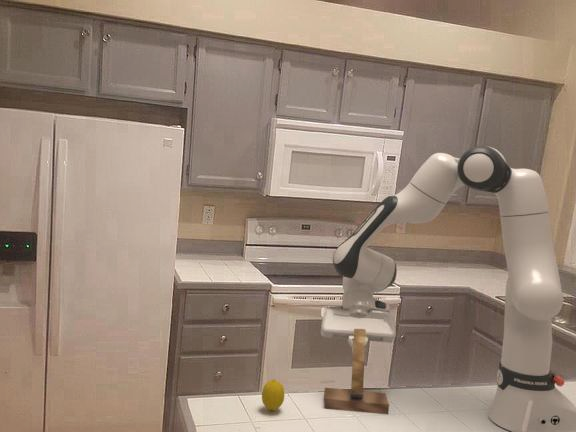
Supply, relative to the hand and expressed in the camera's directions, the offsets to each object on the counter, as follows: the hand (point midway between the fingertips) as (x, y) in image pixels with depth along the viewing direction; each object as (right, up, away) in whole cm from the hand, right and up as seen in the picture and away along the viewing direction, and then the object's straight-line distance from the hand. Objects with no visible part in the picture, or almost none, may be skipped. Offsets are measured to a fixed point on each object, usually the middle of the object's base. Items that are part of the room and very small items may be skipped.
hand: (357, 353), depth 138 cm
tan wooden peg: (-1, -9, -6) cm, 11 cm away
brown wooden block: (-1, -13, -3) cm, 13 cm away
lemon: (-23, -12, -10) cm, 27 cm away
